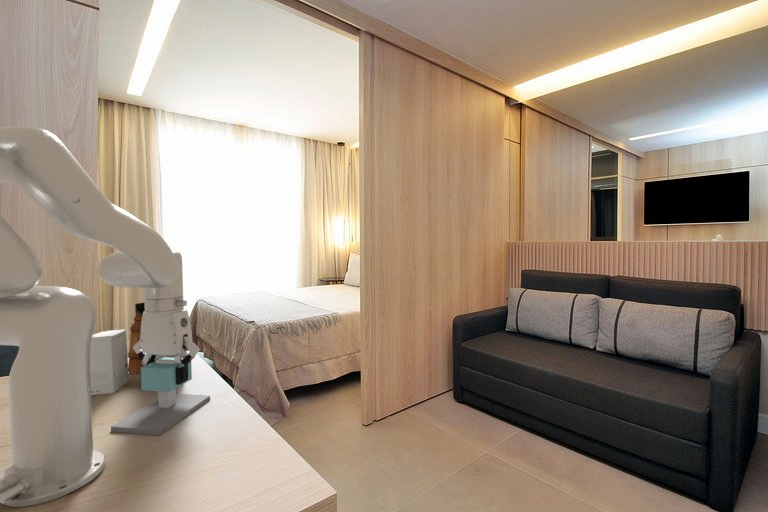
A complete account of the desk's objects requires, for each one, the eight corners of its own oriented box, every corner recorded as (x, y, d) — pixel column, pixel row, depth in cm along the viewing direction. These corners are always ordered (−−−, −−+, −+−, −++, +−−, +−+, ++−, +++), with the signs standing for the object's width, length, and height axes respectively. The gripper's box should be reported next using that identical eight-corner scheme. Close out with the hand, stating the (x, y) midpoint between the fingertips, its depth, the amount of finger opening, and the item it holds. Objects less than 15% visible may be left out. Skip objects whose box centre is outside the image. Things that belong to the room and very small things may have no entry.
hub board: (158, 435, 71) (158, 412, 70) (110, 431, 72) (110, 408, 72) (209, 399, 86) (209, 380, 86) (169, 396, 88) (169, 377, 88)
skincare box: (114, 394, 90) (112, 336, 89) (86, 396, 88) (84, 337, 88) (129, 381, 98) (127, 328, 97) (104, 383, 96) (102, 329, 96)
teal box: (191, 379, 84) (191, 356, 84) (169, 391, 77) (168, 366, 77) (165, 377, 85) (164, 354, 85) (141, 389, 78) (140, 364, 78)
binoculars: (122, 370, 106) (120, 304, 105) (152, 362, 113) (150, 300, 112) (152, 383, 96) (150, 310, 95) (183, 374, 103) (181, 306, 102)
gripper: (209, 302, 83) (211, 377, 84) (144, 300, 85) (147, 373, 86) (187, 309, 75) (189, 390, 76) (116, 306, 78) (119, 385, 79)
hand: (167, 380), depth 81 cm, fingers closed on teal box, 7 cm apart
